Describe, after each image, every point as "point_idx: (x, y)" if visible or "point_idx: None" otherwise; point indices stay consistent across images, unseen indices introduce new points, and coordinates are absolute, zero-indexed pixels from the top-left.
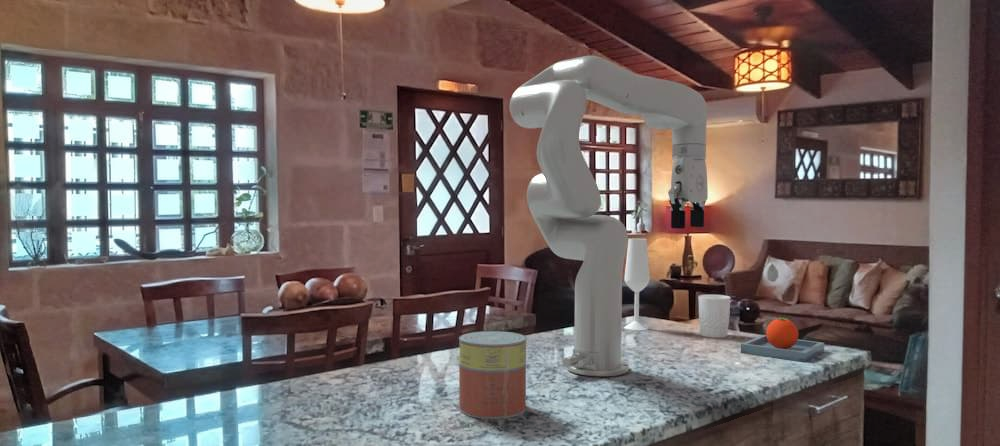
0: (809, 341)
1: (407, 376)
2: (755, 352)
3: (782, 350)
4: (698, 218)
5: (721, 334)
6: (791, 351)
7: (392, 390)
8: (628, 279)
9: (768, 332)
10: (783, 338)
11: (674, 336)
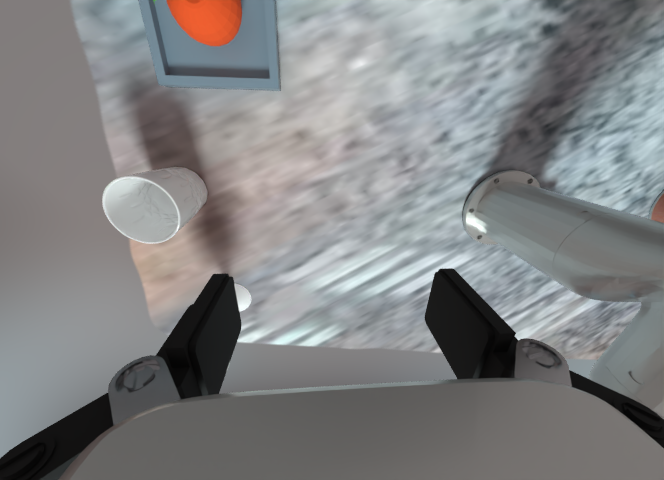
0: None
1: (588, 317)
2: (278, 57)
3: None
4: (221, 323)
5: (189, 171)
6: None
7: None
8: (229, 363)
9: (234, 29)
10: None
11: (244, 232)
